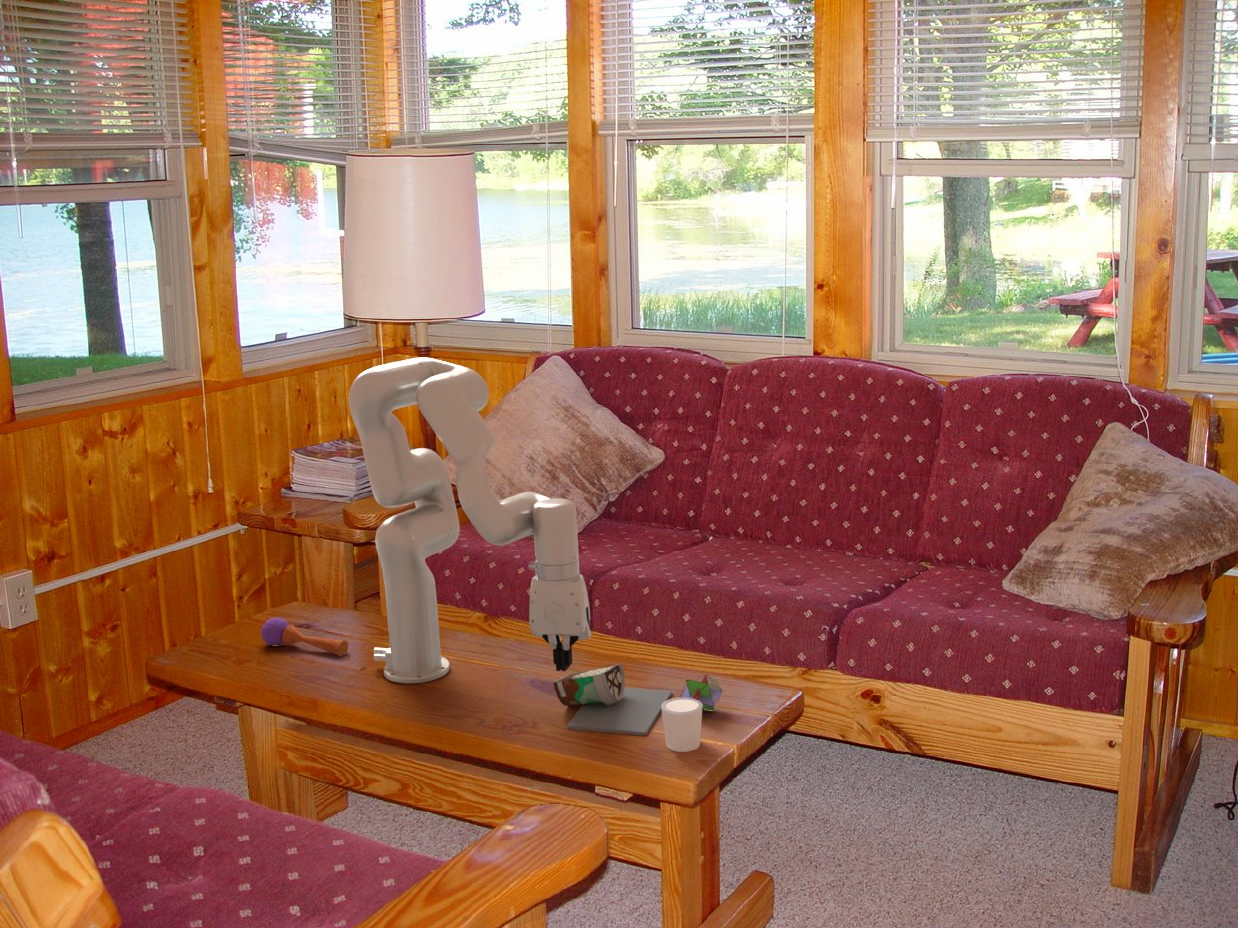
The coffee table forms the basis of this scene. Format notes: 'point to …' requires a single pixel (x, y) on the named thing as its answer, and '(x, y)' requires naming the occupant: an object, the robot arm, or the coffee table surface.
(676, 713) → the shot glass
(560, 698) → the food container
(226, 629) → the coffee table surface
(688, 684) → the geometric puzzle
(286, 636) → the kendama
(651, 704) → the mat
